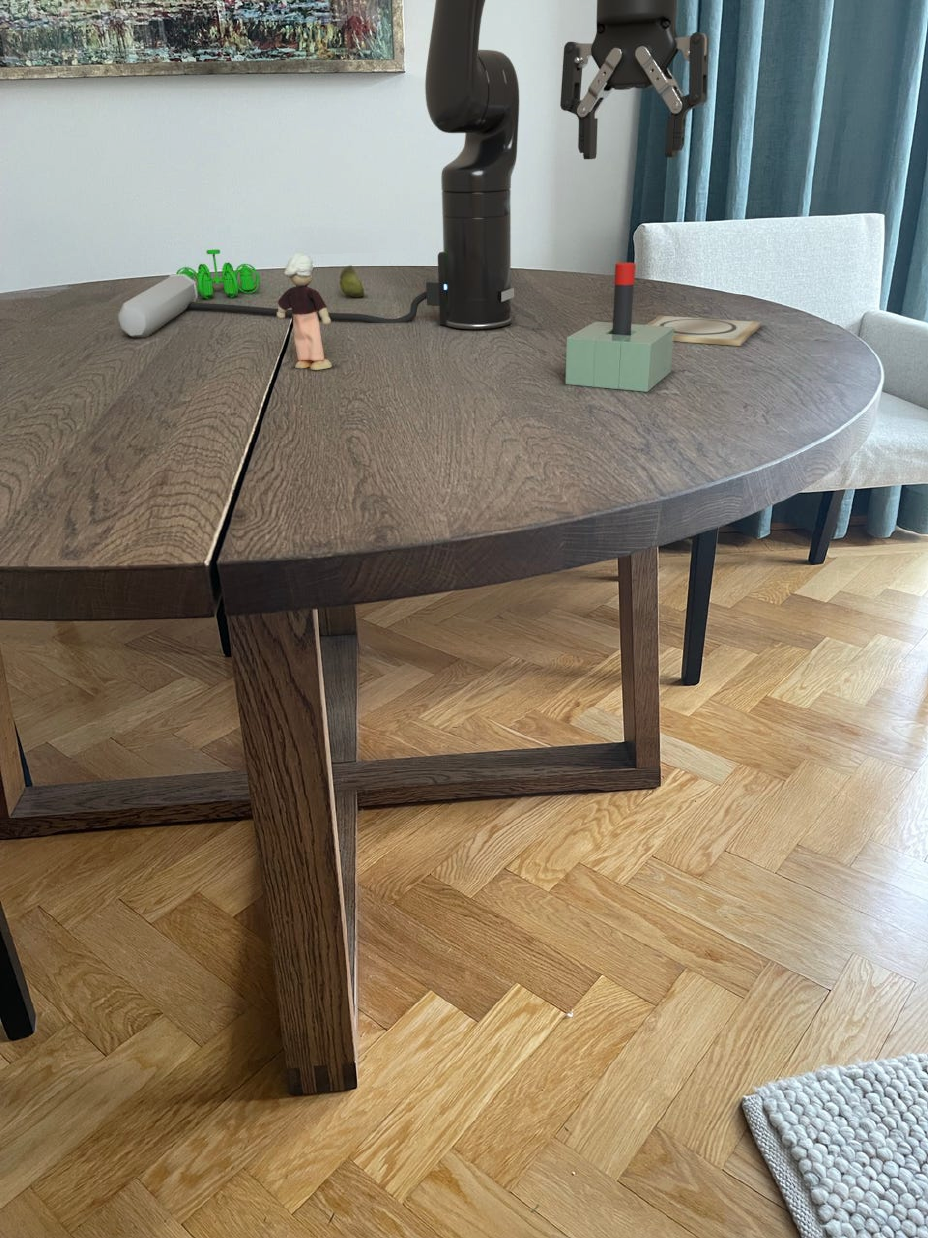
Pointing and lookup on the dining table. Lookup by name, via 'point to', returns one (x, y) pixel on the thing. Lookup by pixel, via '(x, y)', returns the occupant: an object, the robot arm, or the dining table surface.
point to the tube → (157, 306)
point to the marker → (623, 298)
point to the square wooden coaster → (708, 330)
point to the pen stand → (619, 357)
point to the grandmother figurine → (305, 313)
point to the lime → (351, 283)
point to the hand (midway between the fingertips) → (629, 157)
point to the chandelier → (223, 278)
